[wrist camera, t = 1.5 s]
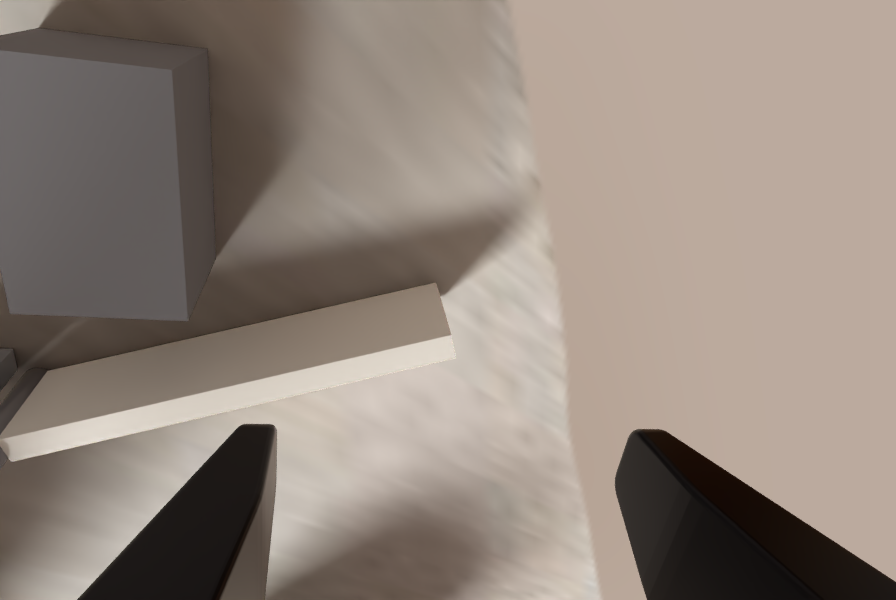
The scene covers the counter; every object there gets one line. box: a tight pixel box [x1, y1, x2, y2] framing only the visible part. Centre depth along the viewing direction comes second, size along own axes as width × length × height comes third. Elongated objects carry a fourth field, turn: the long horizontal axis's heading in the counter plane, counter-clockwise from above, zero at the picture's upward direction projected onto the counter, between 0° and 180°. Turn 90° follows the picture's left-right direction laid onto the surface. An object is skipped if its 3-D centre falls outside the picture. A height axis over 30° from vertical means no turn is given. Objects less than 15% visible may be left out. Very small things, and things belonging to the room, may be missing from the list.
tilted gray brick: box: [0, 28, 216, 321], centre depth 16 cm, size 6×4×4 cm, turn 172°
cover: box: [0, 283, 456, 469], centre depth 18 cm, size 14×1×4 cm, turn 100°
